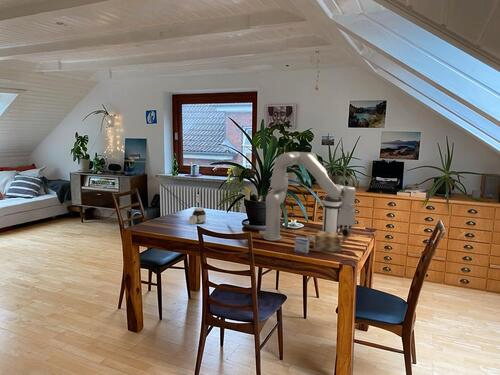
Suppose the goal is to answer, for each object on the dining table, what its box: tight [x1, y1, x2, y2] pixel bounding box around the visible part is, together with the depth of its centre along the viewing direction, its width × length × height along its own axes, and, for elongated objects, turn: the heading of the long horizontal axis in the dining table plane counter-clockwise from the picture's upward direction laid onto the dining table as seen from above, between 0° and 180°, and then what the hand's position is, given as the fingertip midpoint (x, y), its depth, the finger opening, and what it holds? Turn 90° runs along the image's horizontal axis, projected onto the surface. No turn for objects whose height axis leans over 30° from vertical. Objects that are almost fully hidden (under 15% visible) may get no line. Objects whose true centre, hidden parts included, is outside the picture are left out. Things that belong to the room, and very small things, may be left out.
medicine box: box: [293, 236, 310, 255], centre depth 212 cm, size 8×4×9 cm, turn 66°
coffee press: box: [321, 194, 347, 237], centre depth 251 cm, size 17×16×30 cm
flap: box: [341, 228, 353, 244], centre depth 218 cm, size 1×12×8 cm
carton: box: [305, 230, 343, 254], centre depth 222 cm, size 21×24×7 cm
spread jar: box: [188, 206, 207, 226], centre depth 270 cm, size 12×11×12 cm
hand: (344, 235), depth 219 cm, fingers closed
